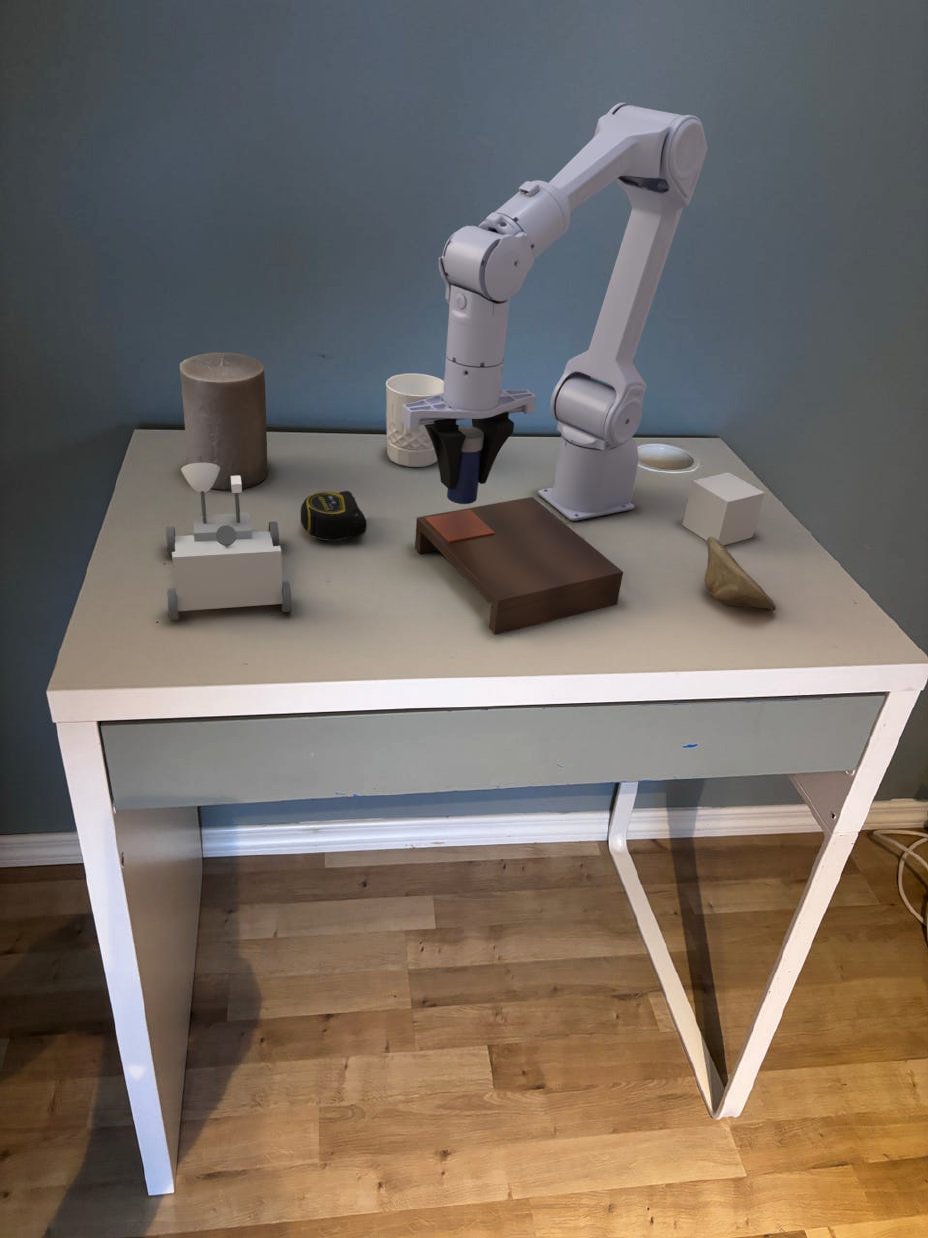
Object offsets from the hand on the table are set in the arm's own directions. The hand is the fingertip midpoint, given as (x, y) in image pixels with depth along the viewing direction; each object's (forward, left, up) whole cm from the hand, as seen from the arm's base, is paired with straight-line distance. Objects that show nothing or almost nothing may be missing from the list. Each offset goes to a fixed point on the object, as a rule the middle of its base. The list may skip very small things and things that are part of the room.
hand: (463, 482), depth 105 cm
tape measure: (+10, -10, -9) cm, 17 cm away
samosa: (-24, +19, -9) cm, 32 cm away
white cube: (-33, +6, -9) cm, 34 cm away
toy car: (+25, -5, -9) cm, 27 cm away
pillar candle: (+17, -28, -9) cm, 34 cm away
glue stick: (0, 0, -2) cm, 2 cm away
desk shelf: (-4, +6, -9) cm, 11 cm away
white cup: (-7, -25, -9) cm, 27 cm away
